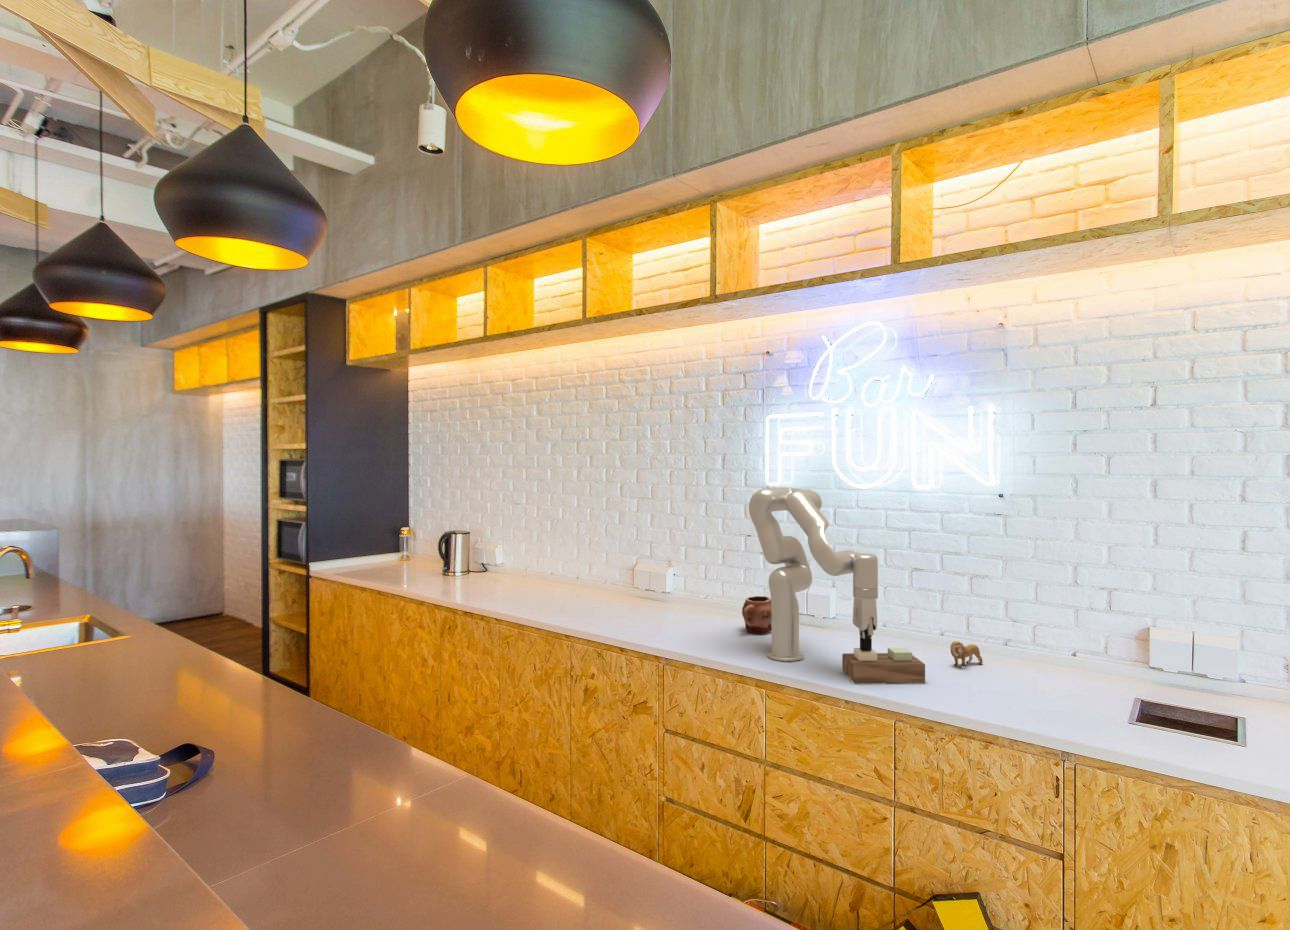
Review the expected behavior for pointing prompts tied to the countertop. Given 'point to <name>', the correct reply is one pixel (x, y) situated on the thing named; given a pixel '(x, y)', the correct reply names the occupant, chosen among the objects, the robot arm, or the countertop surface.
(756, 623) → the decorative planter
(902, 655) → the pale green block
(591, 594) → the countertop surface
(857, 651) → the cream block
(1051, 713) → the countertop surface
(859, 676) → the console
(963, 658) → the lion figurine
